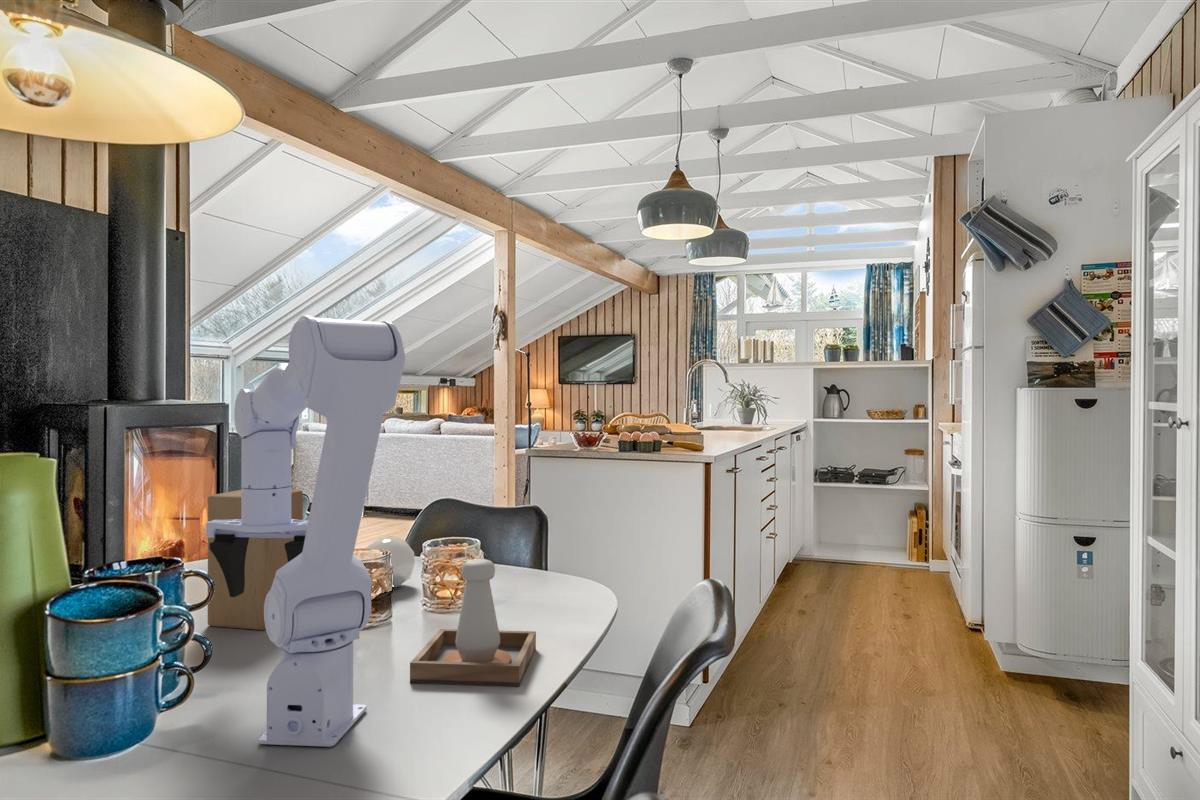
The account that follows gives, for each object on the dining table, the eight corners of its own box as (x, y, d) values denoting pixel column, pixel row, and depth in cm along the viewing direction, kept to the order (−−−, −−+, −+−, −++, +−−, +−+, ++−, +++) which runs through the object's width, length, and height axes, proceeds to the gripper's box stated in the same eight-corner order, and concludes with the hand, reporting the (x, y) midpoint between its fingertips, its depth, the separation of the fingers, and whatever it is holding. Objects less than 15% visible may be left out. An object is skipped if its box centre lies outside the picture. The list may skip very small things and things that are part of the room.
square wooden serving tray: (519, 686, 93) (519, 666, 93) (409, 682, 94) (410, 662, 94) (535, 649, 107) (535, 631, 107) (440, 646, 108) (440, 628, 108)
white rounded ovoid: (404, 587, 146) (378, 620, 131) (362, 558, 145) (331, 587, 131) (431, 550, 145) (407, 578, 130) (389, 520, 144) (360, 545, 129)
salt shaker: (494, 667, 97) (495, 566, 97) (450, 666, 98) (451, 565, 98) (503, 652, 103) (504, 556, 103) (461, 651, 104) (462, 555, 103)
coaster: (504, 674, 96) (504, 672, 96) (433, 672, 96) (433, 670, 96) (516, 650, 105) (516, 648, 105) (451, 648, 105) (452, 646, 105)
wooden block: (303, 612, 124) (304, 489, 124) (264, 631, 114) (264, 497, 114) (249, 608, 126) (249, 487, 126) (206, 626, 116) (206, 495, 116)
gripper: (336, 483, 98) (336, 588, 99) (228, 482, 99) (227, 586, 100) (312, 490, 91) (312, 603, 92) (196, 488, 92) (195, 600, 93)
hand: (266, 595), depth 95 cm, fingers open, 7 cm apart
